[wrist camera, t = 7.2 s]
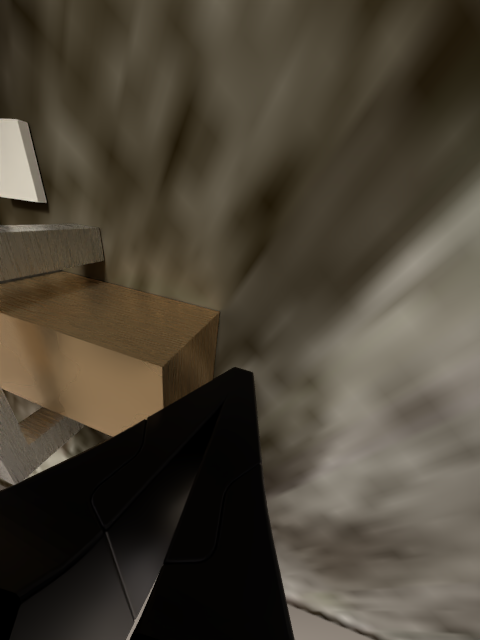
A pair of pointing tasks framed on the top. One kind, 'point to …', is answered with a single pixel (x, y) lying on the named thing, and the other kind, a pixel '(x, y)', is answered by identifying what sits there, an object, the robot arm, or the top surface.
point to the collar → (23, 260)
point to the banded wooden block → (101, 348)
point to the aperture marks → (19, 163)
